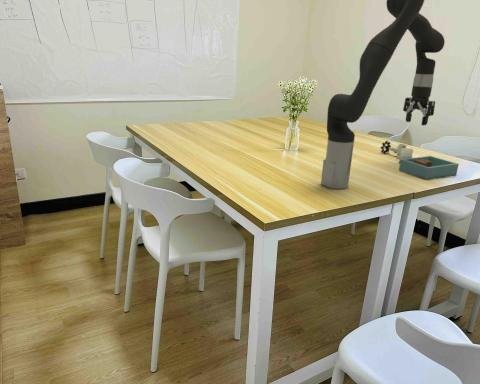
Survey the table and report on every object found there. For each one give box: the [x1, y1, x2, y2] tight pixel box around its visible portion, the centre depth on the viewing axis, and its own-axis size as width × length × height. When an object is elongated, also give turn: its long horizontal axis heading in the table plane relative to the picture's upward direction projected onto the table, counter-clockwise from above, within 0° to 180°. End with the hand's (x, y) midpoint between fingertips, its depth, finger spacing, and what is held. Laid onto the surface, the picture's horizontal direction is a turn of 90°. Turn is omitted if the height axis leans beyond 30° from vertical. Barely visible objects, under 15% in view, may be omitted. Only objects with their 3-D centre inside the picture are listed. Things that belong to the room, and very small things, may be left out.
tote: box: [398, 155, 460, 181], centre depth 164 cm, size 18×14×5 cm
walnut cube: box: [414, 159, 433, 167], centre depth 162 cm, size 5×5×5 cm
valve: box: [380, 140, 407, 159], centre depth 190 cm, size 7×7×12 cm
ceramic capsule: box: [398, 147, 414, 165], centre depth 176 cm, size 5×5×7 cm
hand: (415, 123), depth 169 cm, fingers open, 8 cm apart
